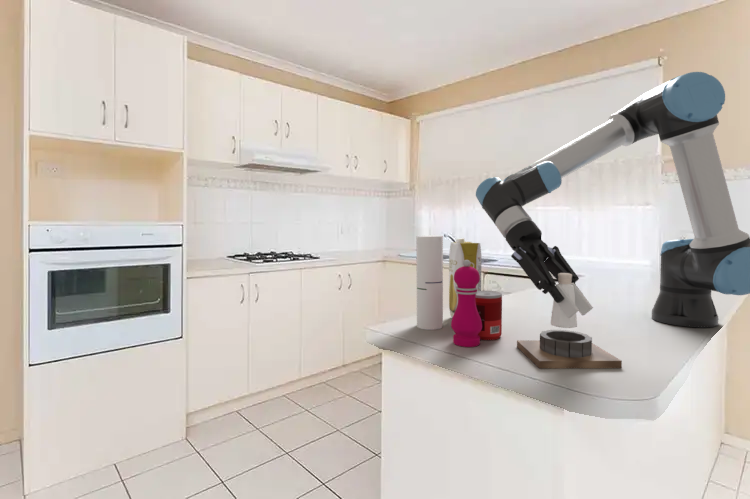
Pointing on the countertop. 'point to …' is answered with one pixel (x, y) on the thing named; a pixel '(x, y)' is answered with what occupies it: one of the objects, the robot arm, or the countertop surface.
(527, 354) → the collar plate
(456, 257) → the juice carton
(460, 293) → the pepper mill
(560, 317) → the pepper shaker
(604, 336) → the countertop surface
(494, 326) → the canned food
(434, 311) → the cylindrical container
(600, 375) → the countertop surface
